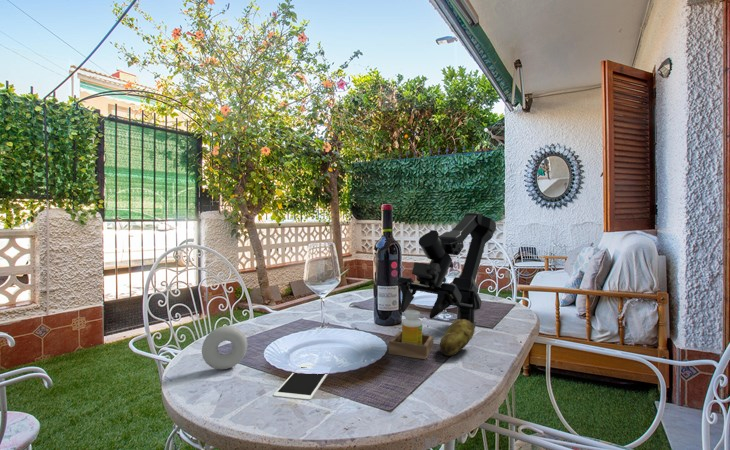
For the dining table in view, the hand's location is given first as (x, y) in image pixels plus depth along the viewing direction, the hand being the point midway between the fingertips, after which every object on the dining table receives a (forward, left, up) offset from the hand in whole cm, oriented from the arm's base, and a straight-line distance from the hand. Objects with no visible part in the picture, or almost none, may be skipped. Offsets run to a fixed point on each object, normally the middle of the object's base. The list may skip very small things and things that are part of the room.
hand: (415, 314), depth 100 cm
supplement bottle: (+1, -1, -9) cm, 9 cm away
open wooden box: (+2, -1, -9) cm, 9 cm away
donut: (+31, -38, -9) cm, 49 cm away
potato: (-2, +10, -9) cm, 14 cm away
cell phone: (+29, -18, -10) cm, 35 cm away
